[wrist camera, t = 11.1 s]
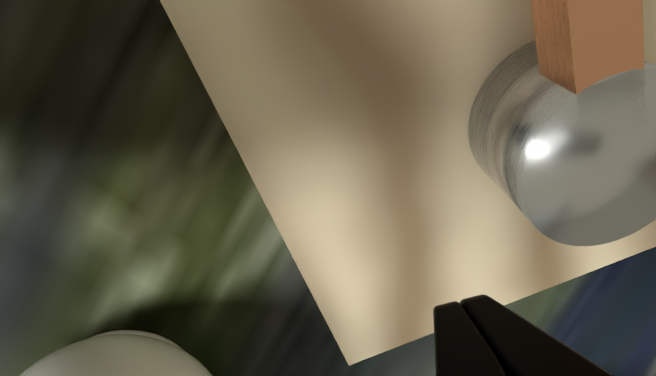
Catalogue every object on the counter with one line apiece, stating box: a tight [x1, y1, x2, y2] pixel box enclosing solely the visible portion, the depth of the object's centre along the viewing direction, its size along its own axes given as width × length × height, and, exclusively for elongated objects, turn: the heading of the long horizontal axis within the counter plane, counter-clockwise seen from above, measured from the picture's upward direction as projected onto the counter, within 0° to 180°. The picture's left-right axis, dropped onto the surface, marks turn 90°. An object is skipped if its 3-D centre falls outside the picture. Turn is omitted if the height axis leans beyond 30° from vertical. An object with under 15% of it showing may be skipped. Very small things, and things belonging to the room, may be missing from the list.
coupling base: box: [160, 0, 656, 365], centre depth 20 cm, size 22×18×2 cm
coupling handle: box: [468, 0, 656, 246], centre depth 15 cm, size 15×6×4 cm, turn 19°
